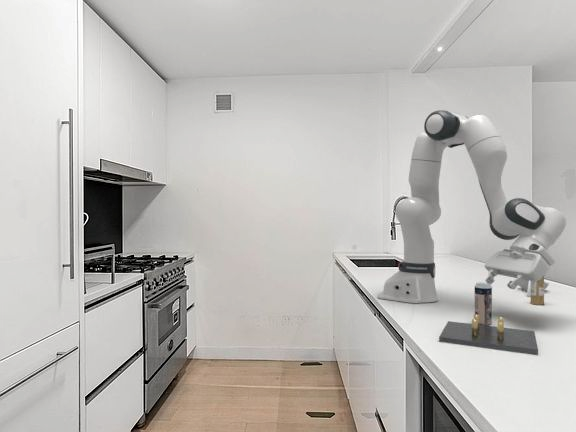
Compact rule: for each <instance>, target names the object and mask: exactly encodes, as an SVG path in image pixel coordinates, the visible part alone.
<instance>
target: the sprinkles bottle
mask: <svg viewBox="0 0 576 432" xmlns="http://www.w3.org/2000/svg"><path fill="white" fill-rule="evenodd" d="M544 282H545V275H544V276H543V277H542V278H541V279H540V280H538V281H536V282H534V281H531V284H530V294H531V297H530V302H529V303H530V304H531V305H535V306H545V290H544Z"/></svg>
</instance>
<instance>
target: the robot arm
mask: <svg viewBox="0 0 576 432" xmlns="http://www.w3.org/2000/svg"><path fill="white" fill-rule="evenodd" d="M423 125H424V127H423V128H424V132H422V133H421V132H420V133H419V134H418V136H417V137H416V139H415V142H414V145H413V149H412V154H411V159H410V165H409V173H408V183H409V185H410V192H411V193H410V195H411V196H409V197H408V198H407V197H406V198H404V199H402V200H401V201H399V202H398V204H397V205H396V208H395V217H396V219H397V221H398V222H399V225H400V229H401V233H402V239H403V260H402V261H400V262H399V263H398V271H397V272H396V273H394V274H393V275H392V276H390V277H389V278H387V279H386V280H385V282H384V284H383V285H384V286H383V291H380V292H378V293H377V298H378V299H381V300H387V301H396V302H401V303H402V302H404V303H408V304H409V303H410V304H421V303H434V302H438V301H439V298H438V294H437V289H436V282H435V281H436V280H435V278H436V263H435V258H434V257H435V242H434V240H433V238H432V237H433V236H432V234H431V229H430V226H431V225H434V223H436V222H437V221H438V220H439V219H440V218H441V215H442V209H441V205H440V191H439V189H440V188H439V187H440V186H439V183H440V176H441V168H442V161H443V160H442V159H443V154H444V151H445V149H446V148H447V147H448V148H450V149H453V148H455V147H458V146H465V149H466V151H467V153H468V155H469V158H470V160H471V163H472V165H473V167H474V170H475V173H476V177H477V179H478V182H479V187H480V189H481V192H482V195H483V198H484V200H485V204H486V207H487V209H488V214H489V228H490V230H491V233H493V235H494V236H495V237H496V238H498V239H501V240H504V241H511V240H514V241H513V243H512V244H511V245H509V249H506V248H505V249H503V250H498V251H496V252H495V253H494V254H492V256H491V257H490V258H489V259H488V260H487V261H485V263H484V269H486V270H487V271H488V275H487V277H486V278H485V279H484V281H485V283H489V284H491V285H493V283H495V277H497V276H498V275H499V276H504V277H509V278H513V280H509V282H508V283H507V284H506V285H507V286H506V287H508V289H509V290H515V289H516V288H517V287H518V286H519V285H520V284H522V283H524V282H525V281H526V280H529V281H534V282H536V281H538V280H540V279H541V278H542V277H543V276H544V277H545V275H546V274H547V273H548V271H549V269H550V267H551V266H553V265H554V264H555V259H554V258H553V257H552V255H551V254H550V253H549V252H548V250H549V248H550V247H551V246H553V245H554V244H555V243H556V242H557V240H558V239H559V238H560V237H561V235H562V234H563V232H564V231H565V228H566V225H567V220H566V218H565V216H564V214H562V212H560V210H558V209H556V208H554V207H552V206H551V207H550V206H548V207H547V206H540V205H538V204H534V203H532V202H531V201H530V200H528V199H525V198H522V197H516V198H512V199H510V200H509V201H508V200H507V198H506V195H505V193H504V190H503V186H502V176H503V171H504V168H505V165H506V162H507V160H508V153H507V148H506V145H505V142H504V140H503V139H502V136H501V134H500V133H499V131H498V129H497V128H496V127H495V125H494V123H493V122H492V121H491V120H490V119H489V117H488V116H486V115H484V114H476V115H473V116H470V117H468V116H465V115H463V114H460V113H459V112H458V113H457V112H451V111H448V110H443V109H442V110H435V111H433V112H430V113H429V115H428V116H427V117H426V119H425V121H424V124H423ZM514 278H515V279H514Z"/></svg>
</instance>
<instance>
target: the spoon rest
mask: <svg viewBox="0 0 576 432" xmlns="http://www.w3.org/2000/svg"><path fill="white" fill-rule="evenodd" d="M530 284H531V281H529V280H526V281H525V282H524V283H522V284H520V285H518V286H519V287H520V288H521V289H522V290H524V291H525V292H526V297H527V298H531V294H530ZM549 284H550V283H548V282H546V281H544V291H545V290H546V289H547V288H548V286H549Z"/></svg>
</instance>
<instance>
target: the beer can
mask: <svg viewBox="0 0 576 432" xmlns="http://www.w3.org/2000/svg"><path fill="white" fill-rule="evenodd" d="M492 308H493V286H492V284H489V283H487V282H476V283H475V285H474V309H473V310H474V311H473V312H474V314H477V315H479V325H480V324H481V325H486V326H490V325H491V324H492V323H493V322H492V321H493V320H492V319H493V315H492V314H493V313H492V312H493V311H492V310H493V309H492ZM474 314H473V315H474Z"/></svg>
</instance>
